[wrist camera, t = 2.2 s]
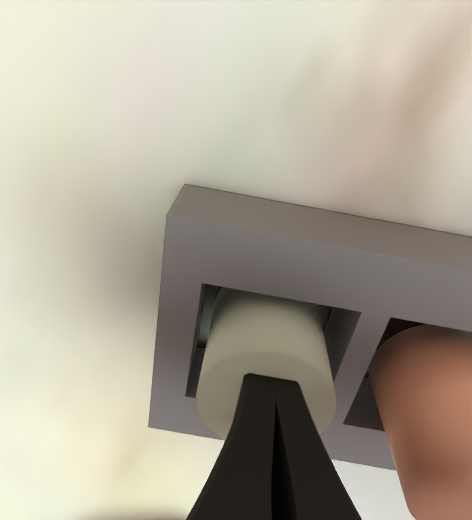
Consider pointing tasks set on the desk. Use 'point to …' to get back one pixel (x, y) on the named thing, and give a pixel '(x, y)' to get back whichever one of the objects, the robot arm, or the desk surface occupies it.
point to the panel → (302, 297)
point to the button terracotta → (428, 417)
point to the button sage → (263, 355)
